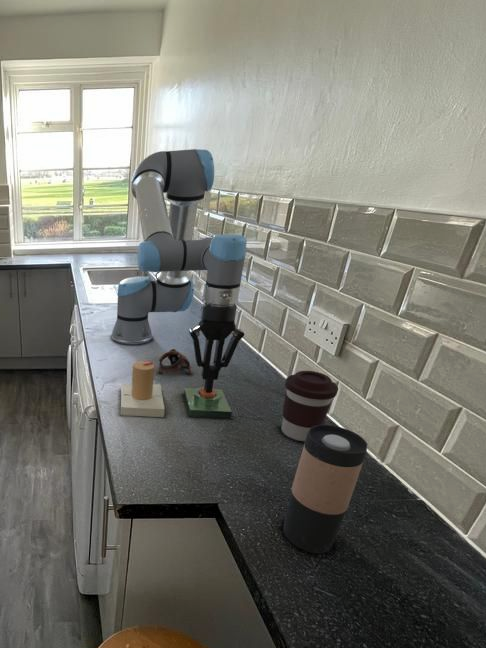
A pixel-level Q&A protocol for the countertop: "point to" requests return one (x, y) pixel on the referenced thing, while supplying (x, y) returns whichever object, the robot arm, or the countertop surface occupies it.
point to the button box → (206, 404)
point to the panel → (142, 402)
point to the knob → (142, 380)
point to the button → (207, 393)
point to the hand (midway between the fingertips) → (207, 389)
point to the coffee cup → (306, 402)
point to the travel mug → (323, 486)
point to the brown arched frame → (174, 362)
